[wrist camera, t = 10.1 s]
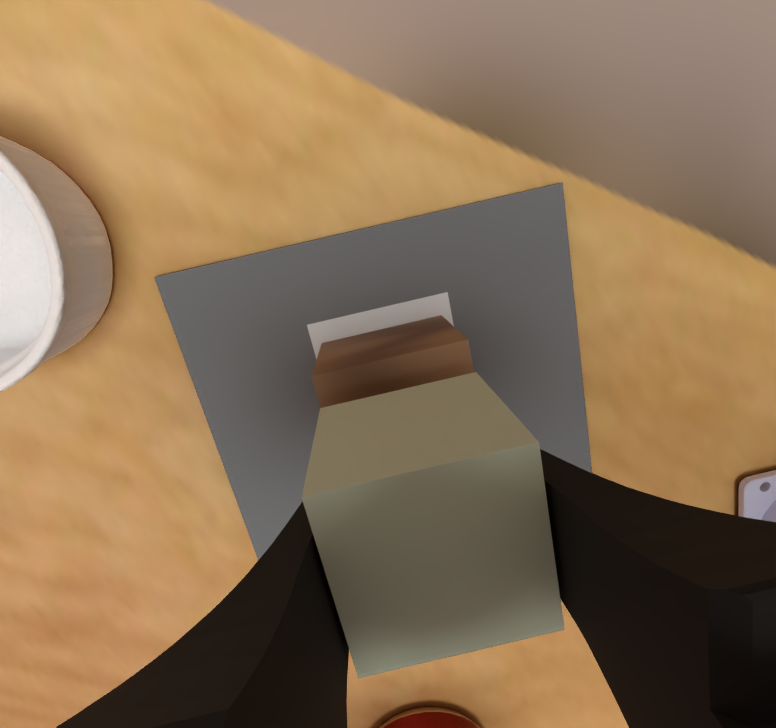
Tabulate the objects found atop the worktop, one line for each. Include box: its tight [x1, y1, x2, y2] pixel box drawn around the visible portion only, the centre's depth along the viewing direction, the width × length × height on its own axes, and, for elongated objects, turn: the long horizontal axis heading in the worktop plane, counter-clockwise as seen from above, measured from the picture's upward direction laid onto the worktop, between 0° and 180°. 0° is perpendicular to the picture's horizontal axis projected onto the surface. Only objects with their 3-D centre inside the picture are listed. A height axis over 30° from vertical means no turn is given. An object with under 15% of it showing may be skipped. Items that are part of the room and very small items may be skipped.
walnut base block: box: [311, 315, 474, 408], centre depth 17 cm, size 5×7×4 cm
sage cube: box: [301, 372, 565, 678], centre depth 11 cm, size 4×4×4 cm
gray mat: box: [154, 182, 592, 560], centre depth 19 cm, size 16×14×1 cm
